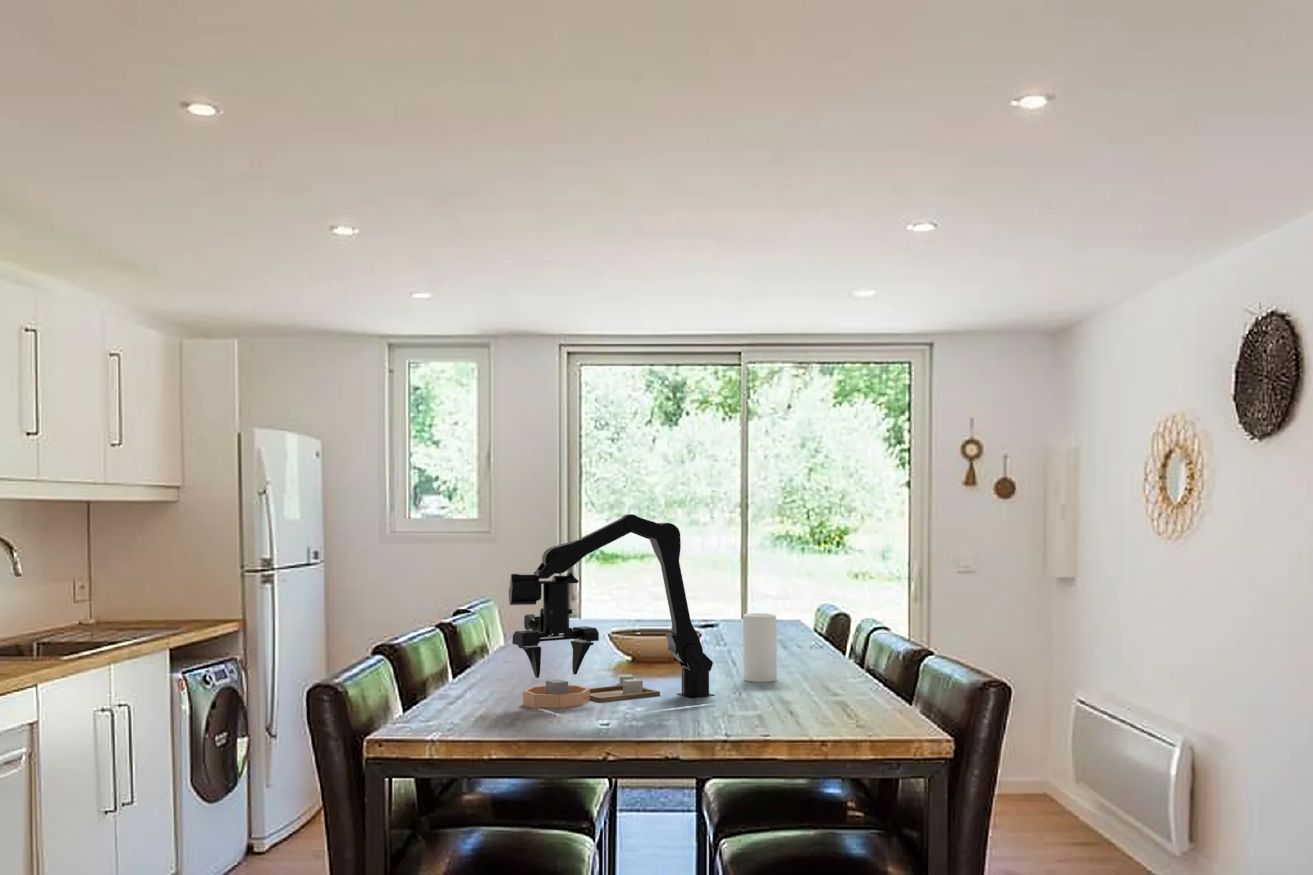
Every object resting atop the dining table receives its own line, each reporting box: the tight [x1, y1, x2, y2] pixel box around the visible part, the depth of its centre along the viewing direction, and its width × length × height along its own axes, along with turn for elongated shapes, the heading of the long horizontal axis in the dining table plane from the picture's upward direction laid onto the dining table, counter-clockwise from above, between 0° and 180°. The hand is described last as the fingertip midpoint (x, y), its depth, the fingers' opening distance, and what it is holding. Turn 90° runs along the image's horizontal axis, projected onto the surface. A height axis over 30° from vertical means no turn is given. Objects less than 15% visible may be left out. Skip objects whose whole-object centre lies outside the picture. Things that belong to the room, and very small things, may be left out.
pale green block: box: [618, 674, 634, 685], centre depth 256 cm, size 3×4×3 cm
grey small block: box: [623, 678, 644, 694], centre depth 243 cm, size 4×3×3 cm
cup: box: [742, 612, 778, 683], centre depth 267 cm, size 8×8×16 cm
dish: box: [522, 684, 591, 710], centre depth 234 cm, size 14×14×3 cm
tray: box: [589, 684, 661, 703], centre depth 242 cm, size 13×16×1 cm
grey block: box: [545, 678, 569, 695], centre depth 234 cm, size 4×3×4 cm
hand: (556, 676), depth 234 cm, fingers open, 9 cm apart
